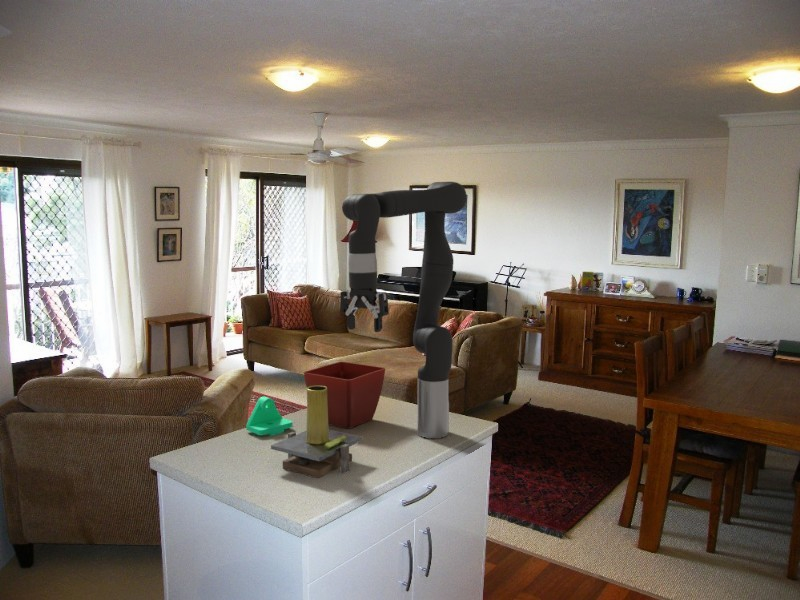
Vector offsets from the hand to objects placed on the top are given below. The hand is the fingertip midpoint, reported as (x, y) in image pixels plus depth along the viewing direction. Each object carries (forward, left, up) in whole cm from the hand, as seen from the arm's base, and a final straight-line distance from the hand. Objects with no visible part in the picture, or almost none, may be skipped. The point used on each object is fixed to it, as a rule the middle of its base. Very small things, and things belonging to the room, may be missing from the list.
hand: (364, 330), depth 177 cm
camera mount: (-1, -36, -35) cm, 51 cm away
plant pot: (-21, -23, -35) cm, 47 cm away
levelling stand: (+13, -6, -35) cm, 38 cm away
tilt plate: (+13, -6, -29) cm, 32 cm away
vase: (+13, -6, -28) cm, 32 cm away
